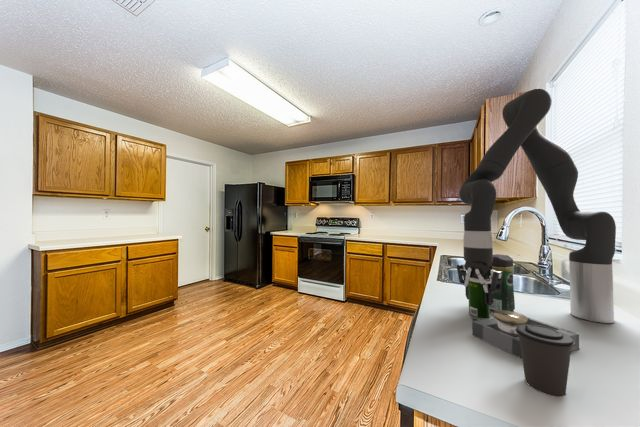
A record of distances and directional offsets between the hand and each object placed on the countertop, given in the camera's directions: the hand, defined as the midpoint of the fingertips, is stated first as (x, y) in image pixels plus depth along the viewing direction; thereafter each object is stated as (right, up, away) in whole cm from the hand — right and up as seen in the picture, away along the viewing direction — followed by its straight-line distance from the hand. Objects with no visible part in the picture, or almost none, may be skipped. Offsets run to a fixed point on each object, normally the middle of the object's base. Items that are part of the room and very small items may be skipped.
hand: (478, 301), depth 76 cm
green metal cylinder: (0, -5, 0) cm, 5 cm away
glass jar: (-2, -5, -16) cm, 17 cm away
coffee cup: (-8, -4, -31) cm, 33 cm away
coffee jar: (+12, -6, +9) cm, 17 cm away
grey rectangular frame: (+2, -5, -14) cm, 15 cm away
